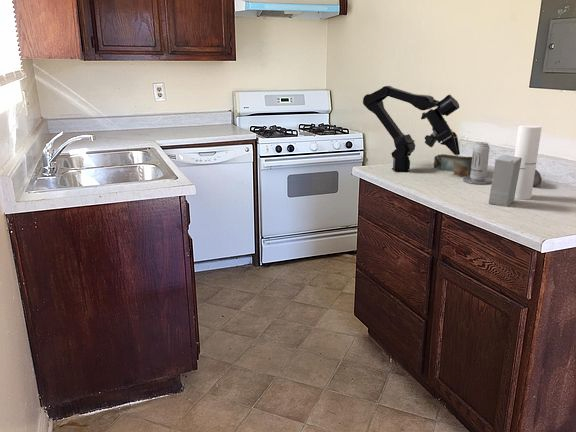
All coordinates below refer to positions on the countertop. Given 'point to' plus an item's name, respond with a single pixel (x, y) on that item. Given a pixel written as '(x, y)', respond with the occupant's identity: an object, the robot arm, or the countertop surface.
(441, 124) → the robot arm
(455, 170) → the walnut block
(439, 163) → the beverage carton
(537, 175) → the perforated stone tool
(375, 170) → the countertop surface
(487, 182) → the coaster
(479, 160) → the energy drink can
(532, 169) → the cylindrical container
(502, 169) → the skincare box
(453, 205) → the countertop surface
